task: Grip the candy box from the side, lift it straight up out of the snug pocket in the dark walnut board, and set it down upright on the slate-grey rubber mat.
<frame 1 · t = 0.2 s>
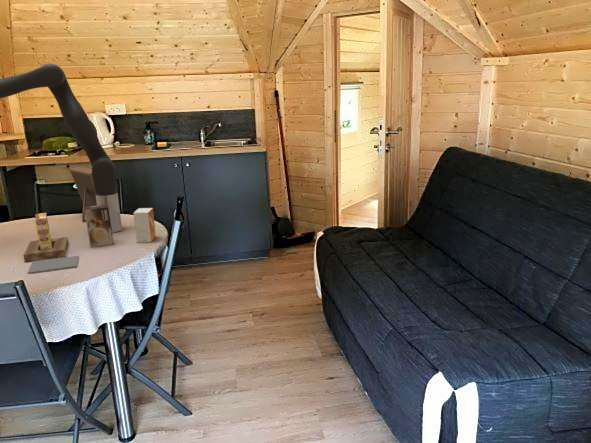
coffee box: (101, 244, 201), on the table
candy box: (47, 253, 191), resting in pocket board
pocket board: (47, 252, 191), on the table
slate mat: (54, 265, 177), on the table
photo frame: (91, 217, 242), on the table
small box: (146, 240, 205), on the table
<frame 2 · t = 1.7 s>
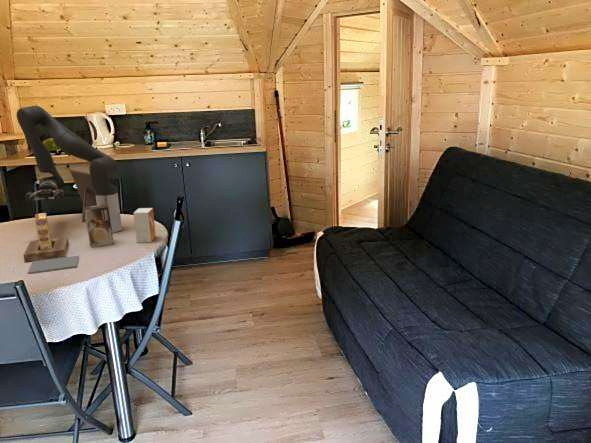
hand: (43, 198, 197), 20 cm above the table, tool horizontal, fingers open, 8 cm apart
nothing on the table moved.
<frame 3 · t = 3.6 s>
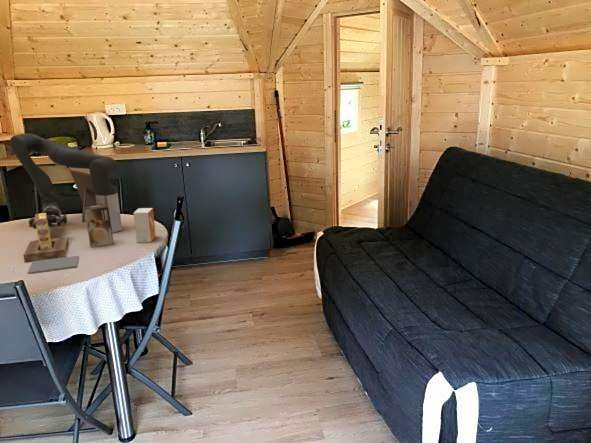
hand: (46, 225, 197), 9 cm above the table, tool horizontal, fingers open, 8 cm apart
nothing on the table moved.
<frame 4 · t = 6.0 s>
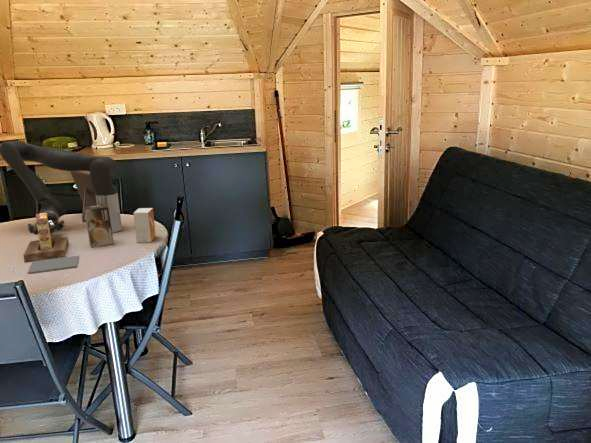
hand: (43, 231, 188), 9 cm above the table, tool horizontal, fingers closed on candy box, 4 cm apart
candy box: (47, 253, 191), resting in pocket board, touching gripper
everything else where it was.
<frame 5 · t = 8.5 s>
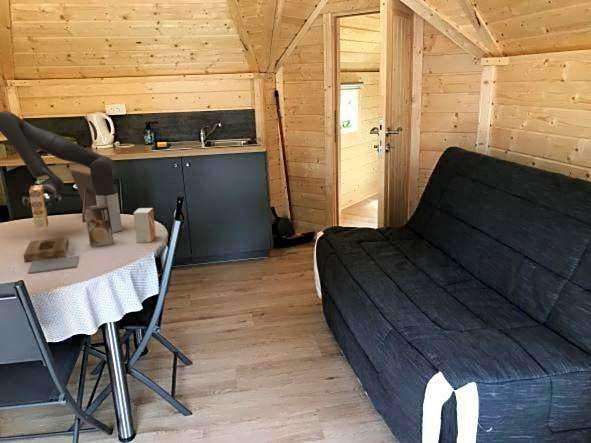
hand: (38, 204, 176), 22 cm above the table, tool horizontal, fingers closed on candy box, 4 cm apart
candy box: (41, 227, 180), point 13 cm above the table, touching gripper
everything else where it was.
when the fingers open (11 cm above the table, at t = 11.5 s): candy box stays where it is, resting on slate mat.
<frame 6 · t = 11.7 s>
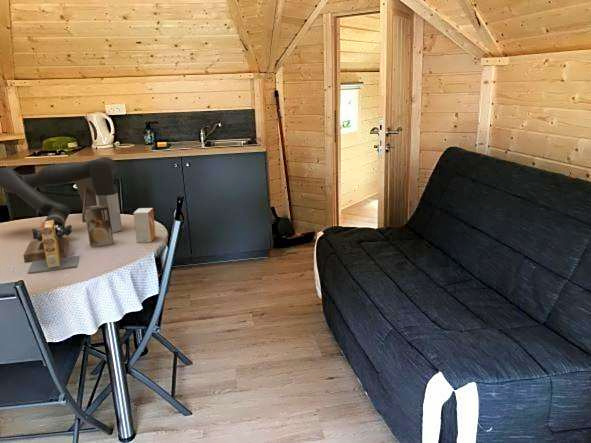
hand: (49, 237, 173), 11 cm above the table, tool horizontal, fingers open, 5 cm apart
candy box: (54, 263, 177), resting on slate mat
everything else where it was.
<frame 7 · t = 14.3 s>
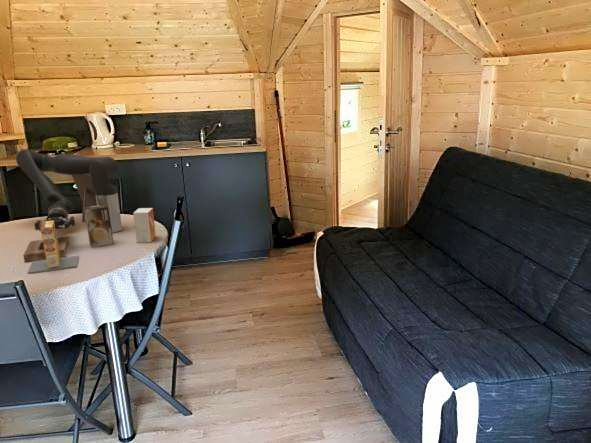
hand: (53, 227, 185), 11 cm above the table, tool horizontal, fingers open, 8 cm apart
nothing on the table moved.
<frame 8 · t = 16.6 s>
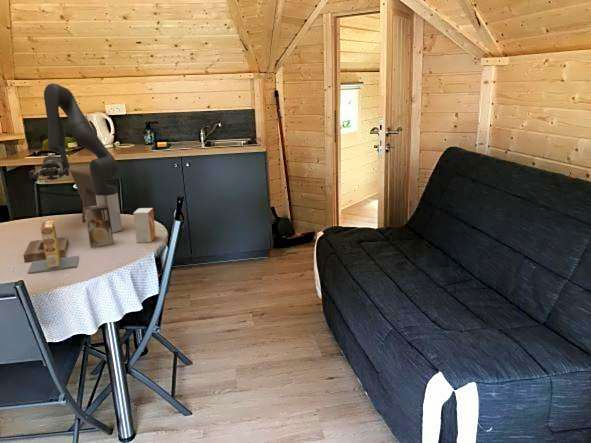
hand: (47, 175, 188), 30 cm above the table, tool horizontal, fingers open, 8 cm apart
nothing on the table moved.
at the end: candy box inside the target area (0.1 cm from its centre), resting on slate mat; candy box tilted 0°; the gripper is holding nothing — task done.
